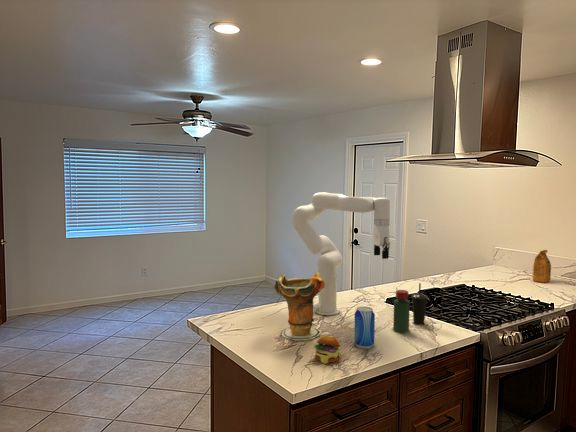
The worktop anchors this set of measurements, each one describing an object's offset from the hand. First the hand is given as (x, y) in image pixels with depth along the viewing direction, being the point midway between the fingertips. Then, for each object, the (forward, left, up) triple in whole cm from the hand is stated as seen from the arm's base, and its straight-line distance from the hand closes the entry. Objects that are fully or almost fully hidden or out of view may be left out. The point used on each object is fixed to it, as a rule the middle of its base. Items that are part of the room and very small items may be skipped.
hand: (381, 256), depth 205 cm
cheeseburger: (-39, -38, -32) cm, 63 cm away
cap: (+4, -15, -17) cm, 23 cm away
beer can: (-20, -29, -32) cm, 48 cm away
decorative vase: (-44, -10, -32) cm, 56 cm away
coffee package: (+145, +54, -32) cm, 158 cm away
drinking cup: (+17, -8, -32) cm, 38 cm away
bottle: (+4, -15, -32) cm, 36 cm away
